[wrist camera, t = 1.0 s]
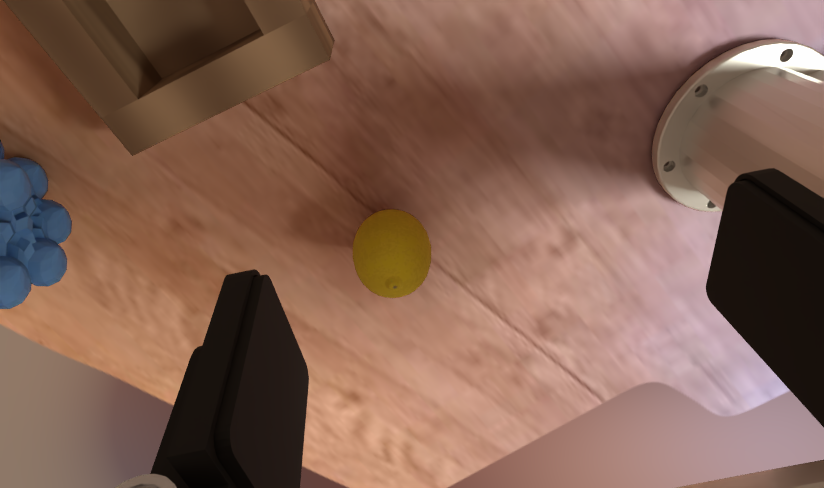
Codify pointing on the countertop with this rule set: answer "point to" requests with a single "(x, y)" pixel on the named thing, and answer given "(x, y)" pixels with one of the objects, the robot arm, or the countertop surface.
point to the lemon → (392, 253)
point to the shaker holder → (174, 56)
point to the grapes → (28, 231)
